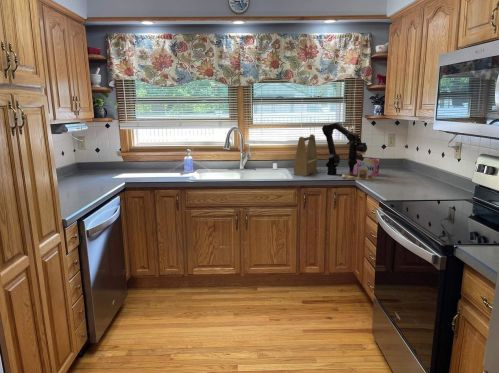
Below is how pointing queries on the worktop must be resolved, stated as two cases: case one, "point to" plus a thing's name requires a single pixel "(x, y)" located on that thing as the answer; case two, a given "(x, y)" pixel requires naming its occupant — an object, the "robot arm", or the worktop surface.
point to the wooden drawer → (354, 174)
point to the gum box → (369, 165)
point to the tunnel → (362, 169)
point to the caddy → (305, 157)
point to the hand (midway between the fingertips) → (351, 171)
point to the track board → (356, 177)
